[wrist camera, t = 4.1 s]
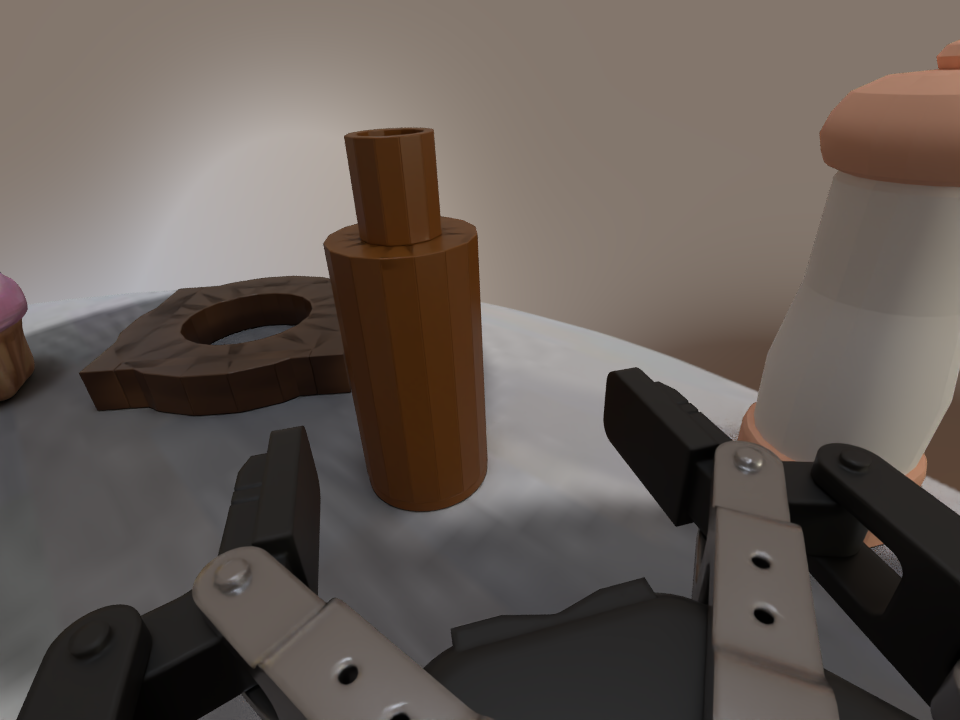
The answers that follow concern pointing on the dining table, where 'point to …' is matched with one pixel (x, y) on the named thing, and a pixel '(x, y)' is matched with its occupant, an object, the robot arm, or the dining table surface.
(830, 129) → the pepper shaker
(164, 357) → the board
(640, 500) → the dining table surface
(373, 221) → the bottle
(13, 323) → the cupcake
